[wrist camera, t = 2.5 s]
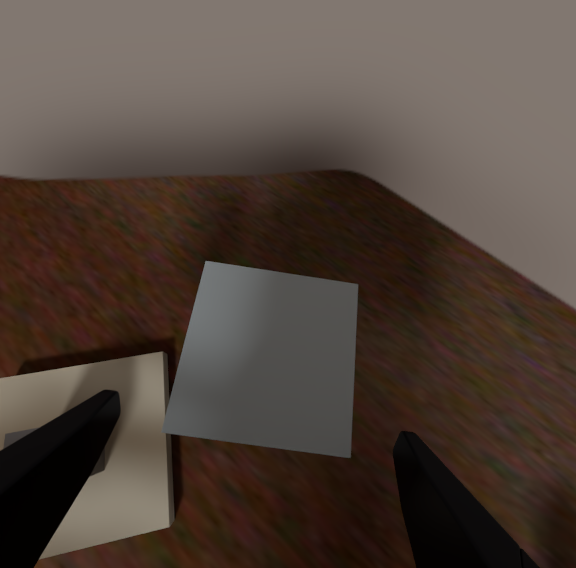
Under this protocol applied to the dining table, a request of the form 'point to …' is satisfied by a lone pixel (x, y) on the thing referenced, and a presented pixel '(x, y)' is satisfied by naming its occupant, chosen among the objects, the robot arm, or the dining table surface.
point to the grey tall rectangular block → (268, 361)
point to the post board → (117, 453)
